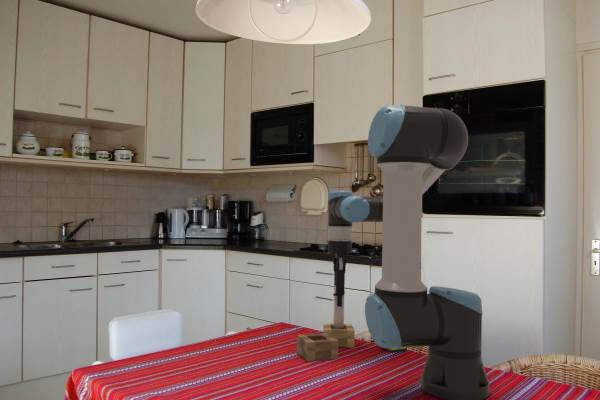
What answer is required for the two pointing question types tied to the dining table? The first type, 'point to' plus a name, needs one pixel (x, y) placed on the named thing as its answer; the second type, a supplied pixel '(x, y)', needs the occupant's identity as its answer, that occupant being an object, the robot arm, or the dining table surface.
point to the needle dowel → (337, 320)
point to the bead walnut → (317, 347)
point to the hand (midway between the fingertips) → (338, 315)
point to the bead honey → (341, 334)
